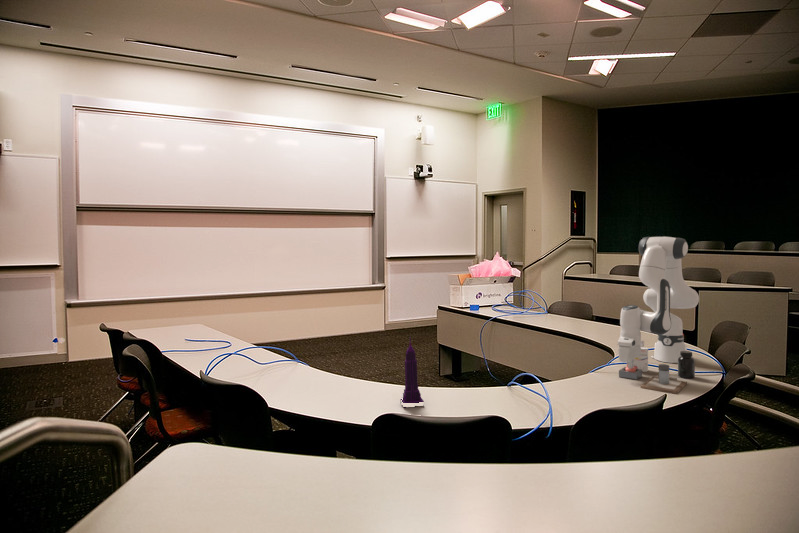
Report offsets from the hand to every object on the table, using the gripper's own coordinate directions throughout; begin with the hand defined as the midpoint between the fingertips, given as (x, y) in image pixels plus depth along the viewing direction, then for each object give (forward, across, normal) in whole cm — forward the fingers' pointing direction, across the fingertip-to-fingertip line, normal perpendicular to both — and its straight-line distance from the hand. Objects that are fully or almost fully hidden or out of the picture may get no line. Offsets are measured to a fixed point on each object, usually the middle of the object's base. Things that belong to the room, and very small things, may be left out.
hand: (630, 368), depth 226 cm
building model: (+4, +95, -55) cm, 110 cm away
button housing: (+4, 0, 0) cm, 4 cm away
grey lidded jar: (+3, +6, +16) cm, 17 cm away
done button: (+3, 0, 0) cm, 3 cm away
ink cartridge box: (+4, -13, -1) cm, 14 cm away
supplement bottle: (+4, -15, +20) cm, 25 cm away
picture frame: (+4, +6, +16) cm, 18 cm away
